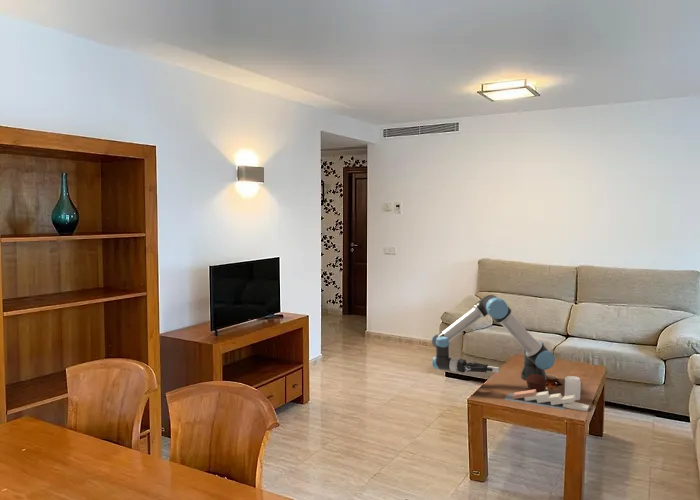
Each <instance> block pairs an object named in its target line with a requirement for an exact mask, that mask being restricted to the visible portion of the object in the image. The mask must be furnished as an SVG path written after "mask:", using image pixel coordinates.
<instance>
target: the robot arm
mask: <svg viewBox="0 0 700 500" xmlns="http://www.w3.org/2000/svg"><path fill="white" fill-rule="evenodd" d="M487 316H490V318H491V319H492V320H493V321H494V322H495V323H496V324H500V325H501V326H502V327H503V328H504V329H505V330H506V331H507V333H509V335H511V336H512V338H513V339H515V341H516V342H517V343H518V344H519V346H521V348H523V360H524V361H523V368H522V369H521V371H520V378H521V379H522V380H525V381H526V378H527V377H528V376H529V375H532V374H539V375H542V376H543V377H545V378H546V379H547V373H546V371H545V370H549V369H551V368H552V367H553V366H554V365H555V362H556V357H555V355H554V354H553V352H552V351H550V350H549V349H548V348H547V347H546V346H545V344H544V342H543V341H537V340H536V339H535V338H534V337H533V335H531V334H530V332H529V331H528V330H527V329H526V328H525V327H524V326H523V325H522V324H521V323H520V322H519V321H518V319H517V318H516V317H515V316H514V315H513V314H512V309H511V308H510V307H509V305H508V303H507V302H506V301H505V300H504V299H502V298H500V297H498V296H497V295H493V294H489V295H485V296H484V297H483V298H481V299H479V300H478V301H477V302H476V303H475V304H473V307H472V308H470V309H469V310H468V311H467V312H466V313H464V314H463V315H461V316H460V317H459V318H458V319H457V320H455V321H454V322H453V323H451V324H450V325H449V326H448V327H446V328H445V329H444V330H442V331H441V332H440V333H438V334H434V335H433V336H432V338H431V343H432V346H433V347H434V348H435V352H436V355H434V356H433V357H432V363H431V366H432V367H433V369H435V370H439V371H449V372H453V373H455V372H458V373H465V372H467V373H469V372H472V373H473V372H475V373H485V374H487V373H488V372H489V373H497V374H498V373H500V367H499V366H498V367H497V366H491V365H488V364H483V363H479V362H476V361H473V362H467V360H466V359H465V358H464V359H462V358H456V357H450V341H452V340H454V339H455V338H456V337H457V336H458V335H460V334H461V333H462V332H464V331H465V330H466V329H468V328H469V327H470V326H472V325H473V324H474V323H476V322H477V321H479V320H480V319H481V318H485V317H487Z"/></svg>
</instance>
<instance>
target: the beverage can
mask: <svg viewBox="0 0 700 500" xmlns="http://www.w3.org/2000/svg"><path fill="white" fill-rule="evenodd" d="M581 385H582V383H581V379H580V377H578V376H575V375H568V376H566V377H565V379H564V396H569V395H575V397H576V399H575V401H580V400H581V387H582V386H581Z"/></svg>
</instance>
